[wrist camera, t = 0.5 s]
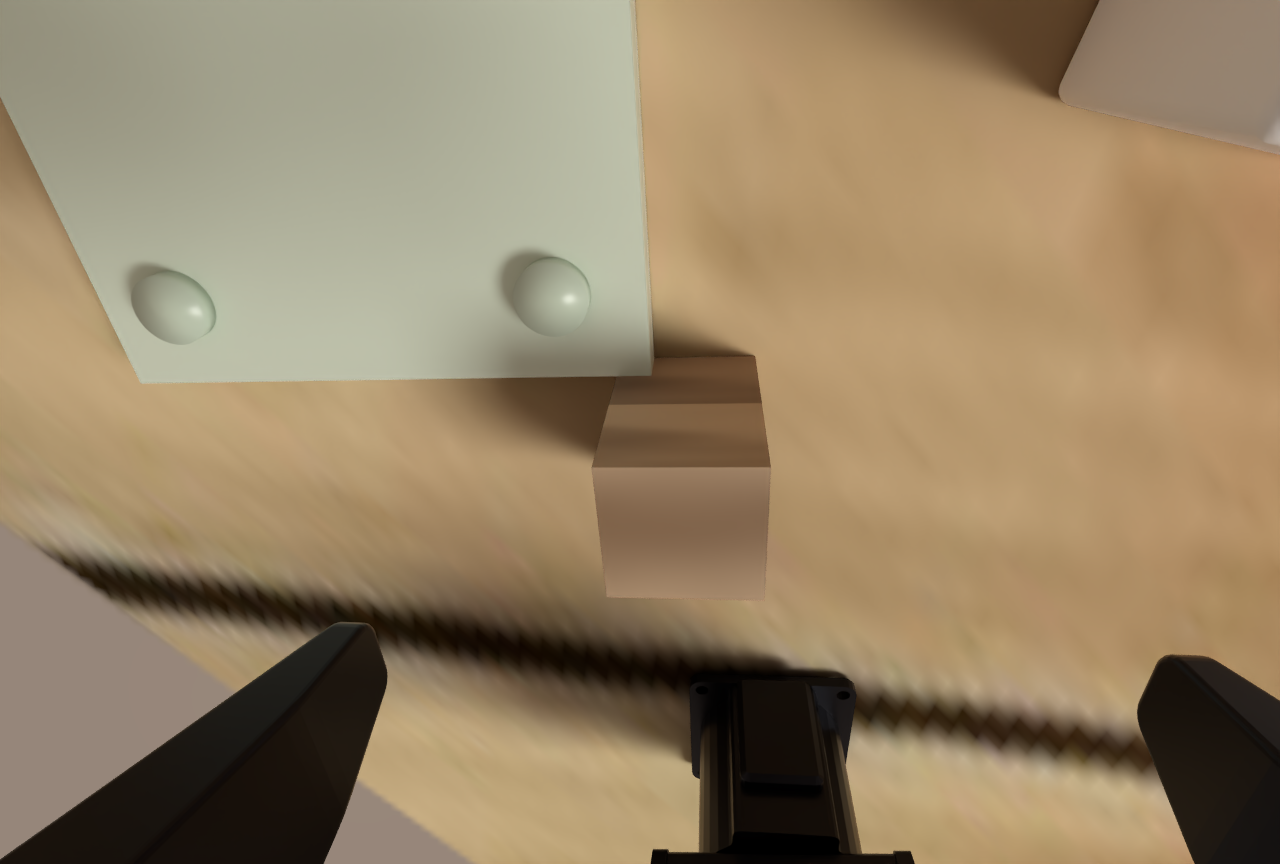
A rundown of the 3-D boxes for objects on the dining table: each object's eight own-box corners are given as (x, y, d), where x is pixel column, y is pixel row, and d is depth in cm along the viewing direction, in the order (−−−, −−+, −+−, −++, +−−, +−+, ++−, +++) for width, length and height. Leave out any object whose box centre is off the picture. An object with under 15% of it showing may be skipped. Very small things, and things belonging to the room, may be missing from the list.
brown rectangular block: (751, 467, 22) (764, 600, 17) (630, 467, 22) (606, 597, 17) (755, 355, 20) (770, 467, 15) (621, 358, 20) (591, 467, 15)
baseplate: (654, 358, 20) (649, 384, 18) (167, 366, 22) (126, 392, 20) (610, -459, 12) (595, -532, 10) (-160, -341, 14) (-269, -389, 12)
